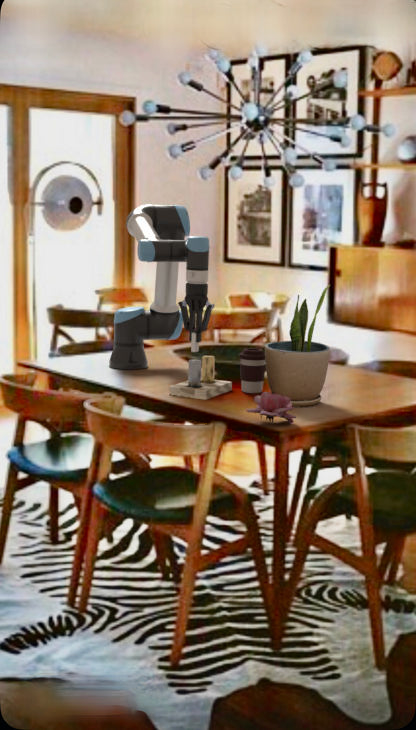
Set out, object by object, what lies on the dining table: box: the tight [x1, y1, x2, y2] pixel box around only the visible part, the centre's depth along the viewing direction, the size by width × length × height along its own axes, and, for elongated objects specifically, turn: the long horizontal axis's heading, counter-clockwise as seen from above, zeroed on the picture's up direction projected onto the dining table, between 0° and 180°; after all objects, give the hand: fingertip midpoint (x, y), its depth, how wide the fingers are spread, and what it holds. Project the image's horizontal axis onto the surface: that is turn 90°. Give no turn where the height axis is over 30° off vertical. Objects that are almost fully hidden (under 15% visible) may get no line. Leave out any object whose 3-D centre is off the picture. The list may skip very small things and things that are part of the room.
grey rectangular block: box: [187, 358, 202, 389], centre depth 346 cm, size 4×4×12 cm
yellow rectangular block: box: [201, 355, 216, 384], centre depth 355 cm, size 4×4×12 cm
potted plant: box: [264, 284, 331, 408], centre depth 336 cm, size 21×22×40 cm
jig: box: [168, 377, 233, 401], centre depth 352 cm, size 20×14×3 cm
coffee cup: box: [238, 347, 266, 394], centre depth 355 cm, size 10×10×15 cm
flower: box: [246, 391, 297, 425], centre depth 307 cm, size 15×15×10 cm
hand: (194, 351), depth 345 cm, fingers closed
